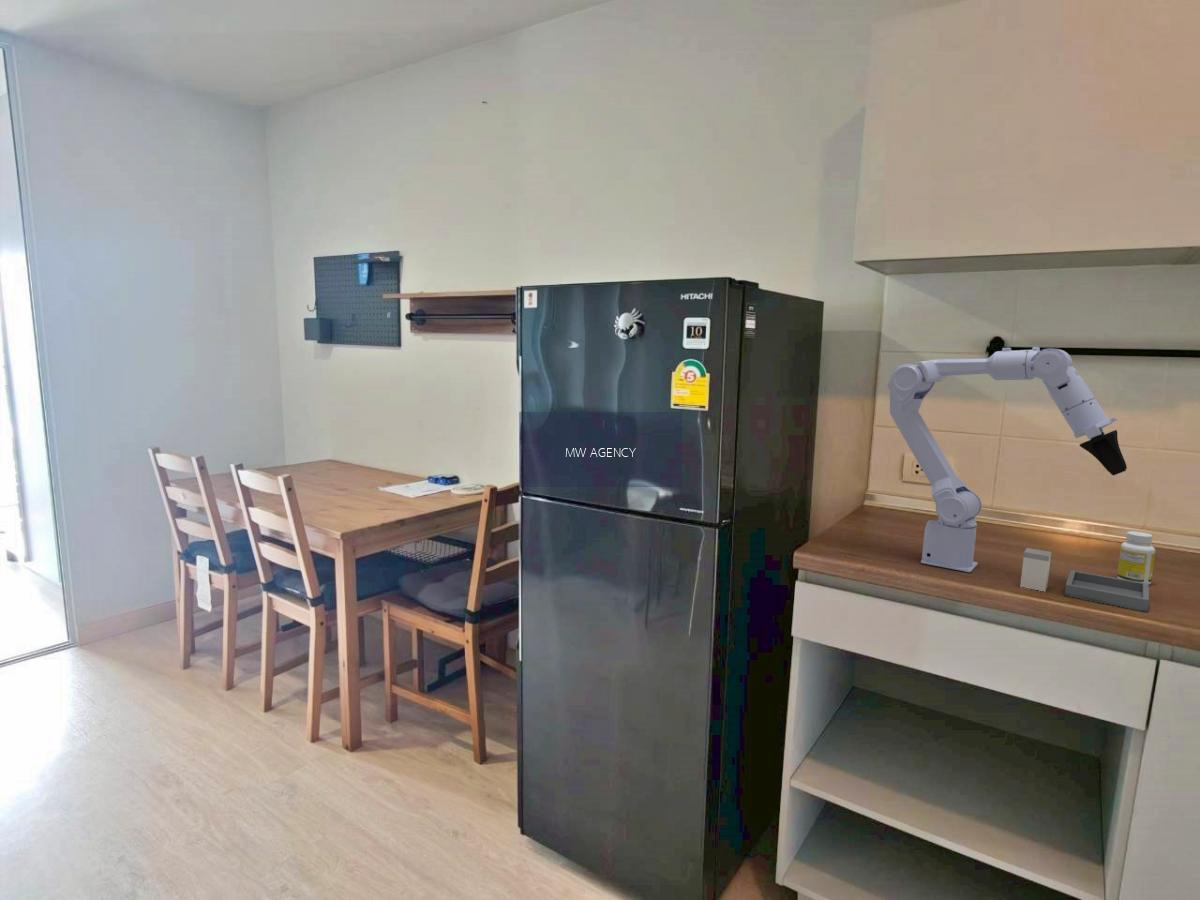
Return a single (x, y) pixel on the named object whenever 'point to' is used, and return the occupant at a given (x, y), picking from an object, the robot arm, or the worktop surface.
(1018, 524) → the worktop surface
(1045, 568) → the light grey tall block
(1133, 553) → the supplement bottle
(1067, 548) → the worktop surface
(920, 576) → the worktop surface
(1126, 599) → the tray
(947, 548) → the robot arm
